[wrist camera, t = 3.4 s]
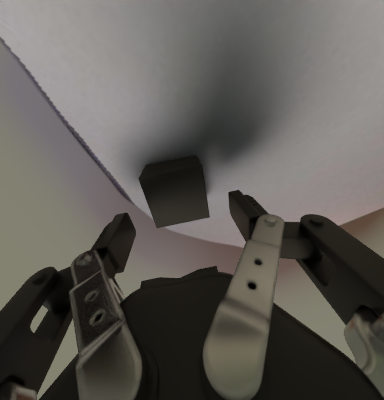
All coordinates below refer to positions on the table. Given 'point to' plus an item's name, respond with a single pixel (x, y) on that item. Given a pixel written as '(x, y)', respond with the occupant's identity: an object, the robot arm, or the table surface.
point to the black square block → (175, 191)
